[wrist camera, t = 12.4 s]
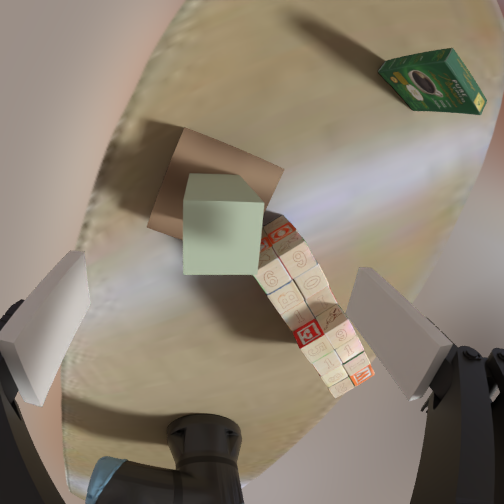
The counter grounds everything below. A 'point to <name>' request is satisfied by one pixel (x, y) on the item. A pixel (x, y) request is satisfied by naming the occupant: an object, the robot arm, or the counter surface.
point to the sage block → (221, 226)
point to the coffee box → (434, 82)
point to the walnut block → (206, 162)
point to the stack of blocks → (310, 308)
